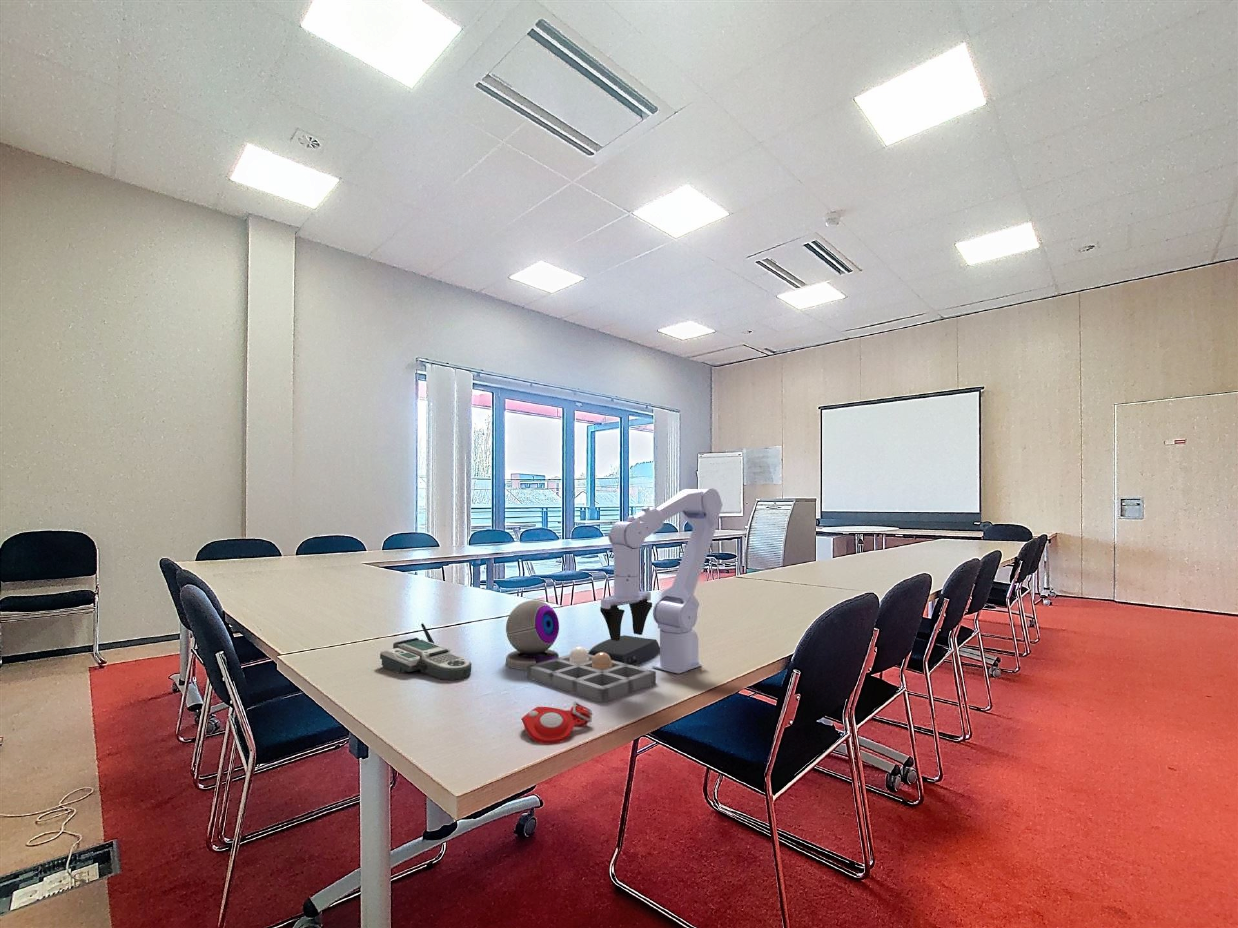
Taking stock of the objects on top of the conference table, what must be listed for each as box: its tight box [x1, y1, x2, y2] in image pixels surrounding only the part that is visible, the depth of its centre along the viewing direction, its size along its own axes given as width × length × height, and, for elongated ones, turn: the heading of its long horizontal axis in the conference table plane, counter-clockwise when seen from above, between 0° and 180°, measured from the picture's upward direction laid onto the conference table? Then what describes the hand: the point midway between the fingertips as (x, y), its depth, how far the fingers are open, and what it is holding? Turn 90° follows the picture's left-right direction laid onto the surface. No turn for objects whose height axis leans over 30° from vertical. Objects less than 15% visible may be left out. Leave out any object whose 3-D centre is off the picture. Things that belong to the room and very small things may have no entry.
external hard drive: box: [587, 634, 660, 667], centre depth 147 cm, size 13×19×4 cm
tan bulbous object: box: [592, 652, 612, 671], centre depth 131 cm, size 4×4×5 cm
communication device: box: [379, 622, 473, 681], centre depth 136 cm, size 12×24×9 cm, turn 54°
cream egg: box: [569, 646, 589, 664], centre depth 136 cm, size 4×4×5 cm
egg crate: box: [526, 654, 657, 704], centre depth 128 cm, size 24×16×2 cm
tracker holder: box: [520, 700, 594, 745], centre depth 101 cm, size 12×4×10 cm
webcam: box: [505, 599, 560, 671], centre depth 143 cm, size 13×13×15 cm
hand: (626, 637), depth 129 cm, fingers open, 7 cm apart
